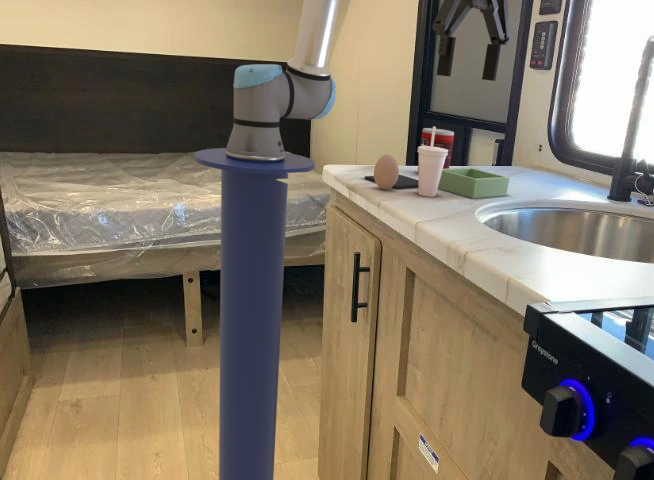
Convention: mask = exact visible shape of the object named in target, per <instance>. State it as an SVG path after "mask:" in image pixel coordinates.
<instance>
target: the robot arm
mask: <svg viewBox="0 0 654 480" xmlns="http://www.w3.org/2000/svg"><path fill="white" fill-rule="evenodd" d="M340 1H341V0H303V5H302V10H301V15H300V23H299V27H298V33H297V40H296V45H295V52H294V56H293V57H292V58H290V59H289V60H287V63H286V69H285V70H283V69H282V66H281V65H280V64H274V63H273V64H272V63H271V64H270V63H269V64H268V63H267V64H265V63H264V64H262V63H259V64H258V63H257V64H244V65H240V66H238V67H237V68H236V69H235V71H234V78H233V84H232V85H233V127H232V130H231V133H230V135H229V139H228V142H227V145H226V147H225V148H226V157H228V158H230V159H233V160H238V161H244V162H252V163H279V162H283V161H285V153H286V152H285V147H284V144H283V141H282V137H281V132H280V121H281V120H280V119H295V120H296V119H299V120H307V121H308V120H309V121H310V120H311V121H312V120H319V119H323V118H325V117H326V116H328V114H329V113H330V112H331V111H332V109H333V107H334V106H335V102H336V98H337V89H336V87H337V86H336V83H335V80H334V77H333V78H332V71H331V68H330V67H329V66H328V65H329V64H328V63H329V62H328V61H329V57H330V51H331V46H332V42H333V36H334V33H335V28H336V27H335V26H336V23H337V17H338V11H339V6H340ZM472 9H475V10H479V11H480V13H481V14H482V17H483V19H484V22H485V26H486V30H487V34H488V37H489V40H490V43H487V45H486V51H485V57H484V63H483V64H484V65H483V71H482V77H481V80H484V81H490V82H491V81H492V82H496V78H497V73H498V67H499V63H500V60H501V53H502V48H503V46H507V45H508V43H510V42H511V41H512V40H511V39H512V35H511V23H510V22H511V21H510V11H509V1H508V0H443V1H442V4H441V6H440V8H439V10H438V13H437V15H436V16H435V19H434V21H433V24H432V27H431V28H432V30H433V31H434V32H435V35H436V36H439V41H438V42H439V43H438V50H437V53H438V62H437V70H436V76H442V77H451V75H452V69H453V62H454V55H455V48H456V40H457V37H455V36H453V35H454V34H455V32H456V31H457V29H458V28H459V26H460V25H461V24H462V22H463V21H464V20H465V18H466V17H467V15H468V14H469V13H470V11H471V10H472Z"/></svg>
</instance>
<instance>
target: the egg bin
mask: <svg viewBox="0 0 654 480" xmlns="http://www.w3.org/2000/svg"><path fill="white" fill-rule="evenodd" d="M509 182H510V177H509V176H505V175H501V174H497V173H494V172H489V171H485V170H481V169H478V168H473V167H457V168H449V169H443V170H442V173H441V177H440V181H439V185H438V188H437V189H439V190H443V191H446V192H450V193H452V194H457V195H459V196H463V197H467V198H469V199H481V198H482V199H483V198H492V197H503V196H504V197H505V196H507V194H508V189H509V188H508V187H509Z"/></svg>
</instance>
